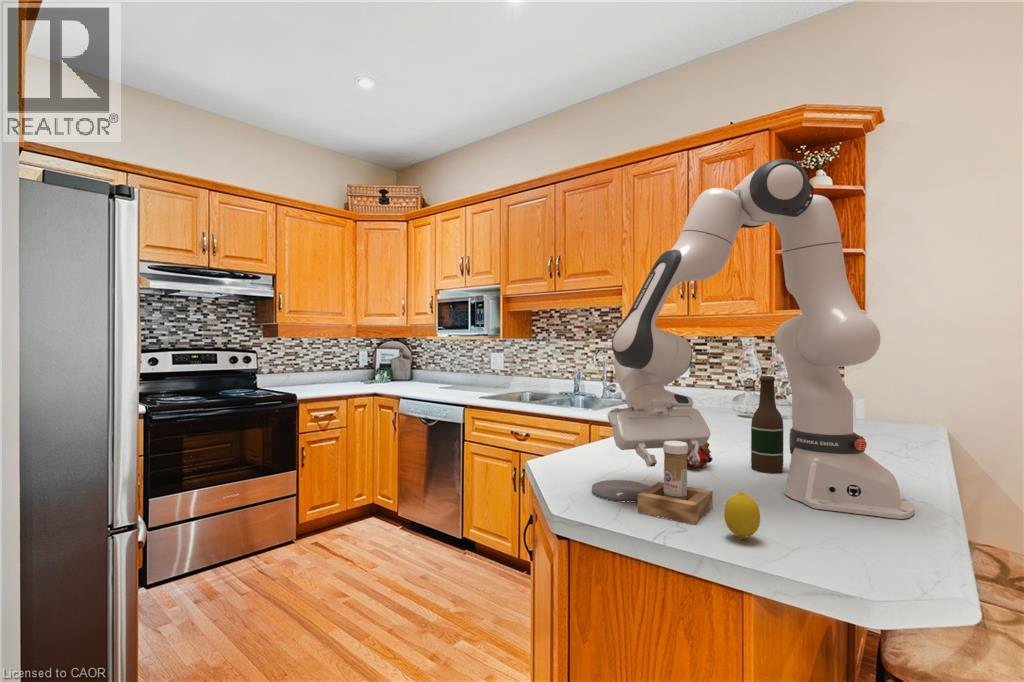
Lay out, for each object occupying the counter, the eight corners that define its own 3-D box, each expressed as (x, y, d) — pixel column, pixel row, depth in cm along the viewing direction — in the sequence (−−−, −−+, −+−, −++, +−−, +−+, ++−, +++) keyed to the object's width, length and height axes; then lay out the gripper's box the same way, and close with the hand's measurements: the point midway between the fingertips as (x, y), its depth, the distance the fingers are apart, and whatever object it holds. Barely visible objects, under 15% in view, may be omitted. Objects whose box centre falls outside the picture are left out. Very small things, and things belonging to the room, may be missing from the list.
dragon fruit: (696, 466, 142) (696, 485, 131) (670, 447, 143) (668, 464, 132) (716, 444, 139) (718, 460, 128) (689, 424, 141) (689, 439, 130)
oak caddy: (712, 508, 103) (712, 491, 103) (694, 524, 94) (694, 505, 94) (658, 498, 109) (658, 481, 109) (637, 512, 101) (637, 494, 101)
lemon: (764, 547, 84) (764, 497, 84) (727, 544, 85) (727, 495, 85) (755, 534, 89) (755, 488, 89) (721, 532, 90) (721, 486, 90)
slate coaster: (661, 490, 115) (661, 486, 115) (637, 506, 104) (637, 501, 104) (608, 481, 122) (608, 476, 122) (581, 494, 112) (581, 489, 112)
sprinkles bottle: (658, 510, 102) (658, 442, 102) (670, 505, 105) (670, 439, 105) (680, 516, 98) (680, 445, 98) (692, 510, 102) (692, 442, 101)
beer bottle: (746, 465, 137) (746, 374, 137) (777, 466, 136) (777, 375, 135) (756, 473, 129) (756, 377, 129) (789, 474, 128) (789, 377, 128)
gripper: (609, 399, 107) (630, 457, 97) (698, 397, 111) (726, 452, 102) (601, 418, 111) (620, 475, 102) (686, 414, 116) (712, 469, 106)
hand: (674, 463), depth 102 cm, fingers open, 8 cm apart
